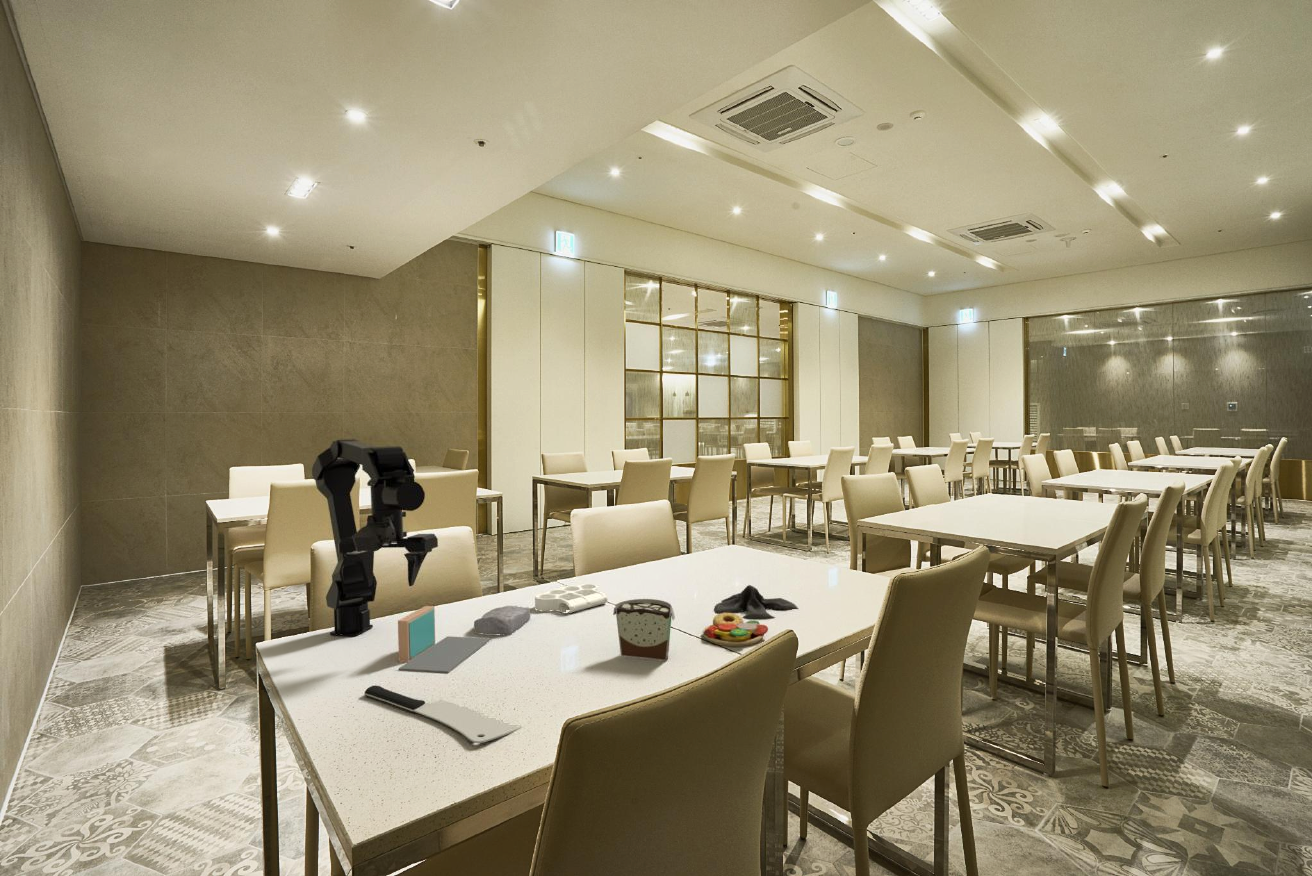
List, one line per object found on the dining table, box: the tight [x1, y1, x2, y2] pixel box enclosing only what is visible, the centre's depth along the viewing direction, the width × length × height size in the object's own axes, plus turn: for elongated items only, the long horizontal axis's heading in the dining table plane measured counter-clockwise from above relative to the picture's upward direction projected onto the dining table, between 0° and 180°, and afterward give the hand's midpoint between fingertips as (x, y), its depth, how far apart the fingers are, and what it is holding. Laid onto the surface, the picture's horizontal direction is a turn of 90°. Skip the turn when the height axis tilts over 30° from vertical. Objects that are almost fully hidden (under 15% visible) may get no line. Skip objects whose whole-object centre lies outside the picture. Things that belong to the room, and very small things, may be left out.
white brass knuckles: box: [534, 583, 608, 615], centre depth 161 cm, size 3×18×15 cm
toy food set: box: [702, 613, 769, 647], centre depth 135 cm, size 13×13×3 cm
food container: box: [612, 598, 676, 662], centre depth 126 cm, size 12×6×10 cm, turn 71°
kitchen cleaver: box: [363, 685, 523, 744], centre depth 102 cm, size 31×2×10 cm
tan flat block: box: [397, 605, 436, 663], centre depth 128 cm, size 2×10×8 cm, turn 169°
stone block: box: [473, 605, 531, 636], centre depth 144 cm, size 12×5×10 cm
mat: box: [398, 635, 492, 674], centre depth 127 cm, size 10×18×1 cm, turn 169°
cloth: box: [714, 584, 799, 620], centre depth 156 cm, size 22×19×6 cm
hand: (390, 585), depth 129 cm, fingers open, 9 cm apart
